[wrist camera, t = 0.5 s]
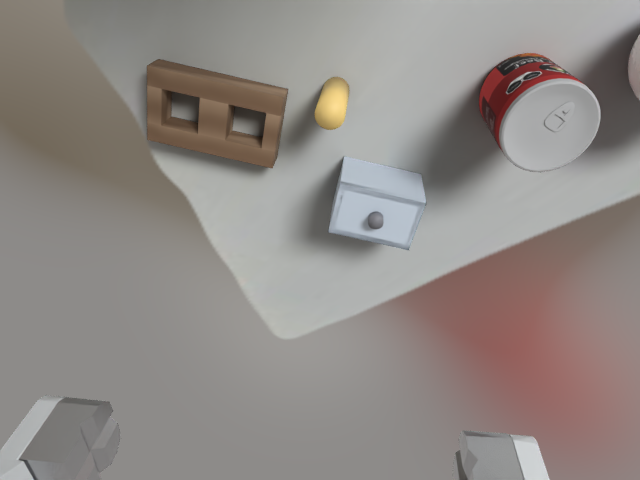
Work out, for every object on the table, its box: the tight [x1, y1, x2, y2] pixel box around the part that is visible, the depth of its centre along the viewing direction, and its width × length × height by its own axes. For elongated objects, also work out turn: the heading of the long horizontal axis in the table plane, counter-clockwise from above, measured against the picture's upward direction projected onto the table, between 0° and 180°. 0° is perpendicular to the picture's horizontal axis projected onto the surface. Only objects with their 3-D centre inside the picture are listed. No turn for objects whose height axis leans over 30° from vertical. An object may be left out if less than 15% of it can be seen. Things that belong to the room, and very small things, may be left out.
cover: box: [328, 156, 426, 250], centre depth 52 cm, size 6×9×8 cm, turn 78°
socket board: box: [147, 59, 288, 168], centre depth 51 cm, size 8×14×3 cm, turn 78°
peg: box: [315, 77, 349, 130], centre depth 46 cm, size 3×3×8 cm
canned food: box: [479, 53, 601, 172], centre depth 43 cm, size 8×8×11 cm
